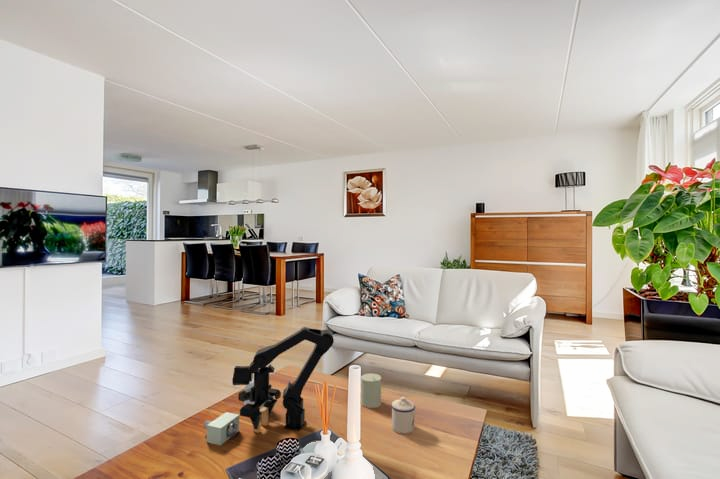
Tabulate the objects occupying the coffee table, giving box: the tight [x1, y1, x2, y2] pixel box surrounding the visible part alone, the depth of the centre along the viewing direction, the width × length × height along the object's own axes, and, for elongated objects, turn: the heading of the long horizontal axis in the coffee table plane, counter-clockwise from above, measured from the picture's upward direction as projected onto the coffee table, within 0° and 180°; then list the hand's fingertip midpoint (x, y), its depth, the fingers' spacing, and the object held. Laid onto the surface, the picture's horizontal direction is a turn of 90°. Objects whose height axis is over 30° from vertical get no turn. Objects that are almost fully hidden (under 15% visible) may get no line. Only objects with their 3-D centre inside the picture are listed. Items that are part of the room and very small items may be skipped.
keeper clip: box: [252, 407, 269, 434], centre depth 133 cm, size 2×6×6 cm, turn 161°
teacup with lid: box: [391, 396, 416, 435], centre depth 135 cm, size 12×9×12 cm
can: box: [360, 372, 382, 409], centre depth 154 cm, size 9×9×12 cm
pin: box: [203, 420, 238, 438], centre depth 127 cm, size 12×4×4 cm, turn 71°
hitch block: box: [206, 411, 240, 446], centre depth 127 cm, size 6×10×6 cm, turn 161°
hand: (261, 424), depth 133 cm, fingers closed on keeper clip, 6 cm apart
